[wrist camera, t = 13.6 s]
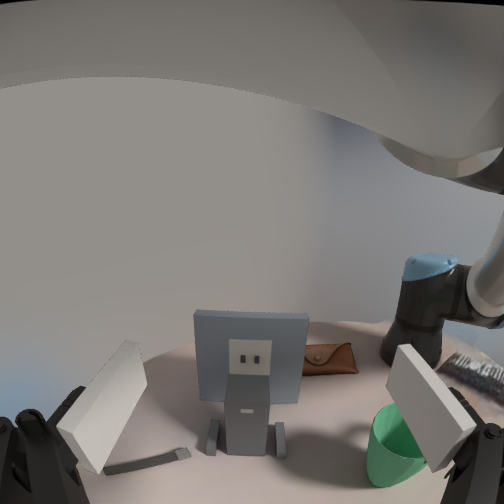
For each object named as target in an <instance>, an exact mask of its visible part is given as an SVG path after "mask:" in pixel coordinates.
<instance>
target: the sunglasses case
mask: <svg viewBox="0 0 504 504" xmlns="http://www.w3.org/2000/svg"><path fill="white" fill-rule="evenodd" d="M355 373H359V371H358V370H357V368H356V365H355V361H354V357H353V353H352V349H351V343H344V344H321V345H306V348H305V356H304V363H303V370H302V376H314V375H332V374H355Z"/></svg>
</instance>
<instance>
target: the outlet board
mask: <svg viewBox="0 0 504 504" xmlns="http://www.w3.org/2000/svg"><path fill="white" fill-rule="evenodd" d="M308 324H309V317H308V315H307V313H265V312H234V311H214V310H196V312H195V313H194V331H195V346H196V359H197V370H198V381H199V391H200V400H209V401H221V402H224V398H225V392H226V386H227V380H228V375H248V376H269V386H270V403H297V402H298V396H299V390H300V384H301V377H302V370H303V363H304V356H305V348H306V341H307V332H308ZM219 432H220V420H211V425H210V430H209V435H208V440H207V445H206V455H210V456H216V450H217V444H218V438H219ZM275 443H276V459H278V458H286V453H287V452H286V441H285V430H284V422H275Z"/></svg>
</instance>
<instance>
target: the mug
mask: <svg viewBox="0 0 504 504" xmlns="http://www.w3.org/2000/svg"><path fill="white" fill-rule="evenodd" d="M427 464H428V463H427V461H426V459H425V457H424V456H423V454H422V452H421V450H420V448H419V446H418V444H417V442H416V440H415V438H414V436H413V435H412V433H411V431H410V429H409V427H408V425H407V423H406V422H405V420H404V418H403V416H402V414H401V413H400V411H399V409H398V407H397V405H396V404H395V403H392V404H389V405H387V406H386V407H384V408H382V409H381V410H380V411H379V412H378V414H377V415H376V416H375V418H374V420H373V424H372V427H371V431H370V436H369V443H368V449H367V473H368V479H369V481H370V482H371V483H372V484H373V485H375V486H377V487H382V488H386V487H391V486H393V485H395V484H398V483H400V482H402V481H405V480H406V479H408V478H410V477H411V476H413V475H415V474H416V473H417V472H419V471H420V470H421V469H423V468H424V467H425V466H426V465H427Z"/></svg>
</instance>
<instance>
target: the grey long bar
mask: <svg viewBox="0 0 504 504" xmlns="http://www.w3.org/2000/svg"><path fill="white" fill-rule="evenodd" d="M189 457H191V453H190V452H189V450H188V449H187V447H186V448H183V449H179V450H176V451H175V452H173V453H170V454H166V455H162V456H158V457H154V458H150V459H146V460H142V461H137V462H132V463H127V464H122V465H116V466H110V467H103V470H104V473H105V474H106V476H107V475H113V474H119V473H125V472H130V471H135V470H140V469H144V468H149V467H153V466H157V465H161V464H165V463H169V462H172V461H176V460H182V459H185V458H189Z"/></svg>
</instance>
